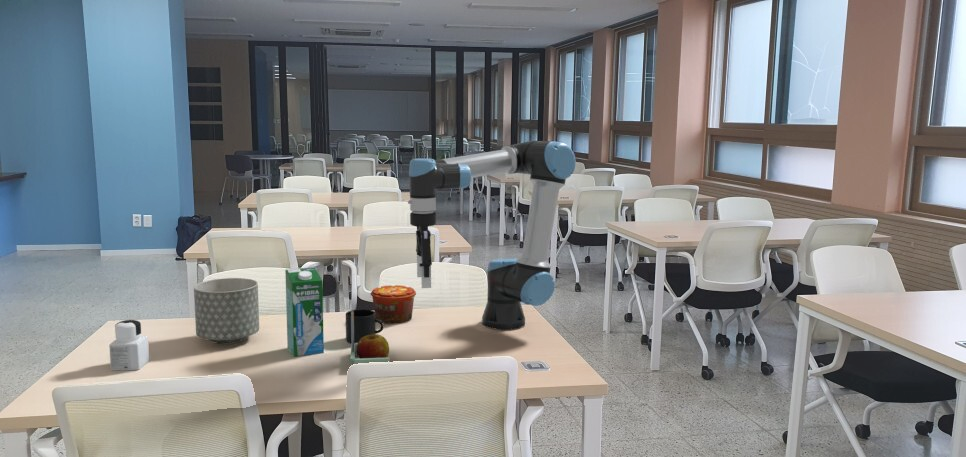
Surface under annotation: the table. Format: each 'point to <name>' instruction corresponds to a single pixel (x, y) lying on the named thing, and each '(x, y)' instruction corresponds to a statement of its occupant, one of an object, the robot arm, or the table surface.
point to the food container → (393, 303)
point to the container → (129, 347)
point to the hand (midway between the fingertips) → (423, 282)
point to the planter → (226, 309)
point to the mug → (362, 324)
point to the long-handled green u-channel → (354, 349)
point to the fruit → (372, 347)
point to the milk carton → (304, 311)
